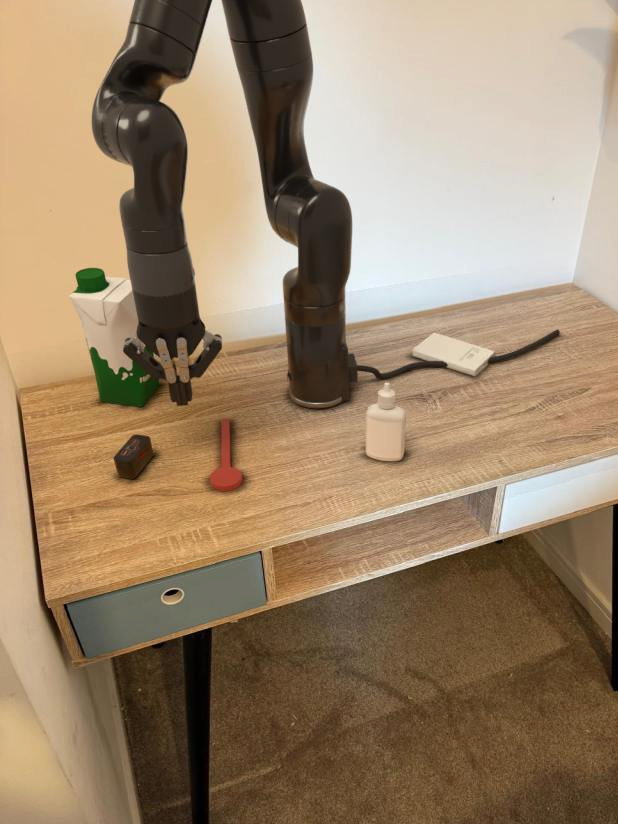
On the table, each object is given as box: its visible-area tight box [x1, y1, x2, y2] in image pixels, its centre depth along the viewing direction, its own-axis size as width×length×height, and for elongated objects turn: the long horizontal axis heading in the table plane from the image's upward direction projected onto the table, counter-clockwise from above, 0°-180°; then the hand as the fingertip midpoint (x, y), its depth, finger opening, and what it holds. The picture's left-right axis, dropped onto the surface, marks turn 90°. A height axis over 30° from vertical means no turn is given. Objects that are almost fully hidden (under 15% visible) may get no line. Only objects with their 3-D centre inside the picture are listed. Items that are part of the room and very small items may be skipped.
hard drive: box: [411, 332, 497, 377], centre depth 131 cm, size 2×8×12 cm
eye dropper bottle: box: [365, 382, 407, 462], centre depth 105 cm, size 4×6×12 cm
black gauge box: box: [112, 433, 154, 480], centre depth 105 cm, size 5×7×3 cm, turn 167°
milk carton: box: [68, 267, 161, 408], centre depth 113 cm, size 9×9×20 cm
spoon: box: [209, 418, 243, 492], centre depth 108 cm, size 4×17×1 cm, turn 10°
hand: (183, 402), depth 101 cm, fingers closed
